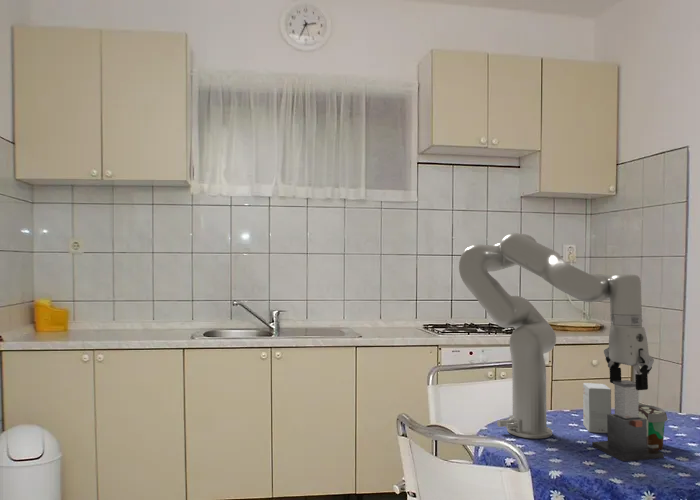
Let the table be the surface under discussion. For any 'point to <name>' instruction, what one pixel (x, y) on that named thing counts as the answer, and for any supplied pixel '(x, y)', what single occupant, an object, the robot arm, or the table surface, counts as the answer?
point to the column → (626, 400)
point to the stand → (627, 440)
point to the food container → (653, 424)
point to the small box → (596, 407)
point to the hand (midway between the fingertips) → (628, 386)
